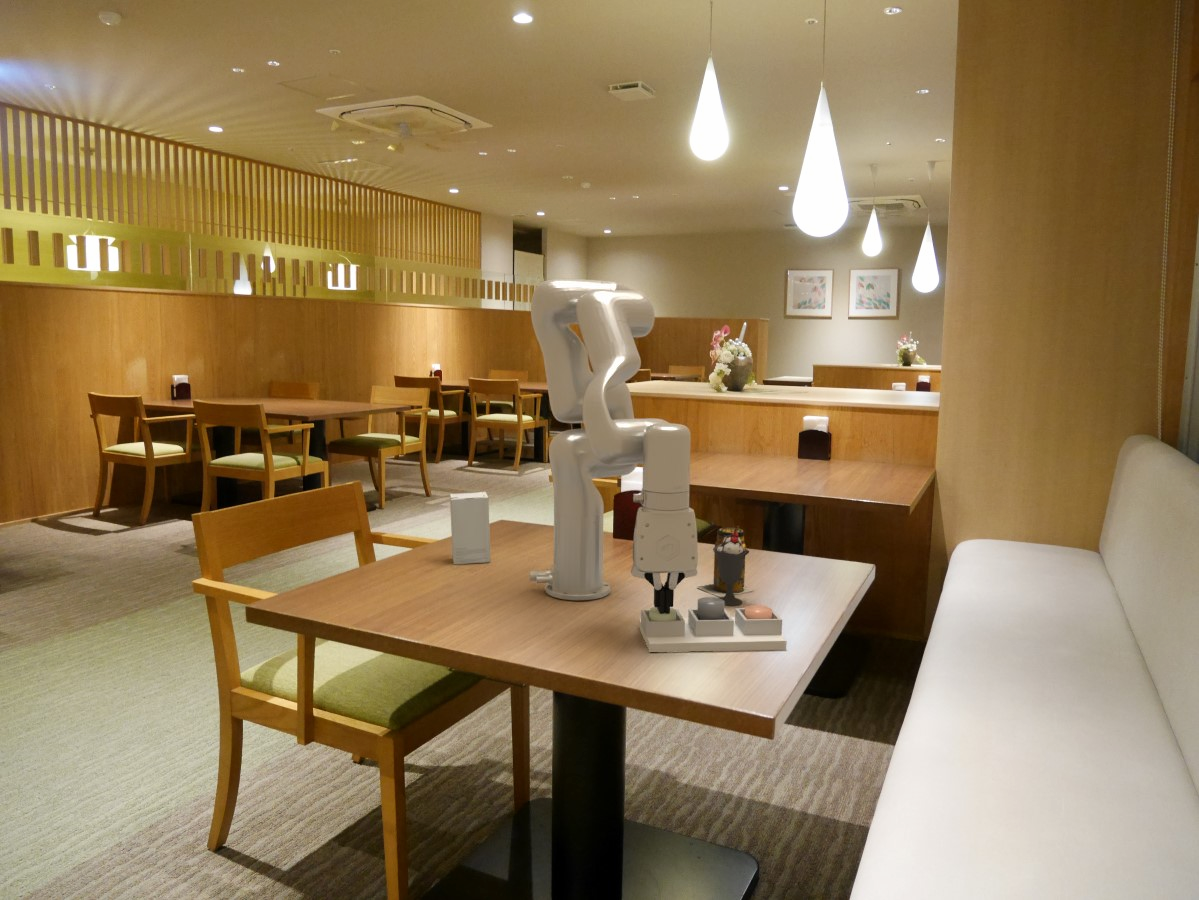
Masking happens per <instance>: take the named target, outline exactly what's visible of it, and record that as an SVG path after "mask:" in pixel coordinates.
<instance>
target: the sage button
mask: <svg viewBox="0 0 1199 900" xmlns="http://www.w3.org/2000/svg"><path fill="white" fill-rule="evenodd" d="M675 609H676V608H673V607H670V614H666V613H665V612H664V613H663V614H660V613H659V611H658V609H657V607H654V606H653V607H651V608H650V609H648V610H649V621H676V610H675Z"/></svg>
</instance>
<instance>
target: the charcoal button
mask: <svg viewBox="0 0 1199 900" xmlns="http://www.w3.org/2000/svg"><path fill="white" fill-rule="evenodd" d="M719 598H720V597H713V596H712V597H711V596H705V597H700V598H698V599H697V608H696V609H697V619H698V620H724V609H726V608H725V601H724V600H722V599H719Z"/></svg>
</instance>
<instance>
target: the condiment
mask: <svg viewBox="0 0 1199 900" xmlns="http://www.w3.org/2000/svg"><path fill="white" fill-rule="evenodd" d="M736 528H737V527H721V528H718V529H717V533H716V534H717V536H716V541H715V543H714V547H716V546H720V545H721V544H722V542H723V539H724V536H725V535H727V536H728V535H732V533H734V531H735V529H736ZM735 532H736V533H738V537H739V538H740V540H741V543H742V545H743V547H744V548H746V549H747V547H746V544H745V531H744V530H743V529H741V528H738V529H737V530H736V531H735ZM713 555H714V557H713V559H714V561H713V562H714V563H713V583H710V584H706V585H699V586H697V588H698V589H700V590H702V591H705V592H706V593H709V594H710V595H714V596H717V597H718V598H722V597H725V595H726V592H727V585H726V583H725V582H724V581H722V579H721V578H720V575H719V569H718V559H717V554H716V553H715V552H714V554H713ZM745 574H746V558H745V559H744V564H743V571H742V575H741V578H740V579H739V581H738V582H736V583H735V584H734V585H733V594H734V595H740V594H745V593H746V594H747V593H750V592H753V591H754V589H750V588H748V587H745V577H746V576H745Z"/></svg>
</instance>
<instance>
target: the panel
mask: <svg viewBox="0 0 1199 900" xmlns="http://www.w3.org/2000/svg"><path fill="white" fill-rule="evenodd" d="M770 608H771V609H772V619H746V617H745V607H741V608H740V607H739V608H738V607H737V608H734V616H731V615H730V614H729V612H728V611H727V610H726V608H724V620H698V619H697V608H688V614H687V615H688V617H683V615H682V614H681V612H680V611H679V609H677V608H674V609H675V610H676V621H649V610H650V609H641V610H640V618H638V628H639V631H640V633H641V635H643V636H642V638H643V640H645V641H644V643H645V642H646V643H645V645H647V646H646V648H647V647H648V648H647V650H648V649H649V650H648V653H649V652H667V653H686V652H685V651H713V652H744V651H745V652H750V651H751V652H753V651H758V650H759V651H786V650H787V643H788V642H787V640H786V638H785V637H784V636H783V634H782V633H783V632H782V631H783V619H782V618H781V617H780V616H779V615H778V614H777V613H776V611H775V610H774V608H772V607H770ZM675 651H676V652H675ZM679 651H680V652H679ZM682 651H683V652H682Z"/></svg>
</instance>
